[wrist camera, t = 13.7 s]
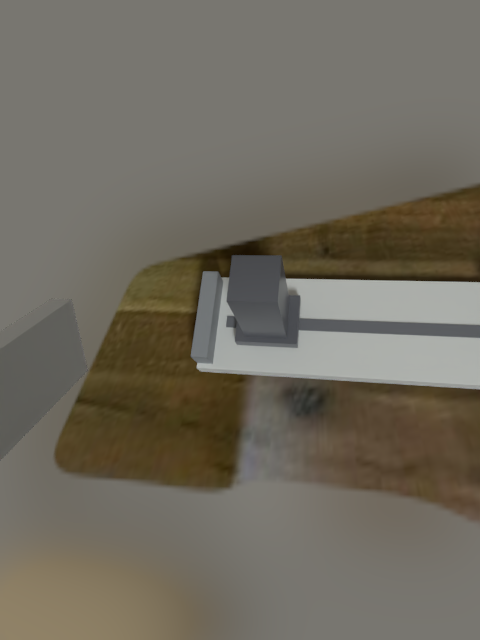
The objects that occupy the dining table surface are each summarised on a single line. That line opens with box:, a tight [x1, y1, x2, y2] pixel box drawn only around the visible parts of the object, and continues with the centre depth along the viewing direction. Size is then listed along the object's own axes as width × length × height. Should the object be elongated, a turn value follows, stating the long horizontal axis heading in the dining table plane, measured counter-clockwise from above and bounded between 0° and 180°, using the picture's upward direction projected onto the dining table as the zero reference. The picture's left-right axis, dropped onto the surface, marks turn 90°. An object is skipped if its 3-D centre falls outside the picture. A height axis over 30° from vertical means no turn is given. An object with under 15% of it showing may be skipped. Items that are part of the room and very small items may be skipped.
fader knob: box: [226, 255, 301, 348], centre depth 39 cm, size 6×5×10 cm
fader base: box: [191, 271, 480, 389], centre depth 42 cm, size 30×10×4 cm, turn 84°
